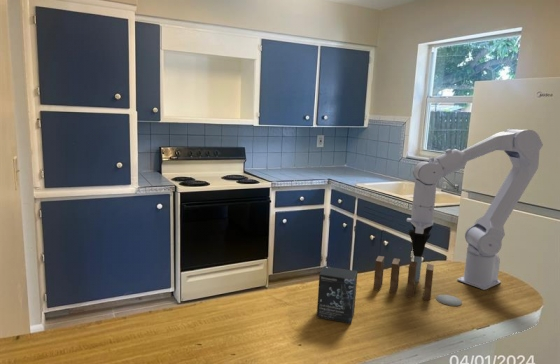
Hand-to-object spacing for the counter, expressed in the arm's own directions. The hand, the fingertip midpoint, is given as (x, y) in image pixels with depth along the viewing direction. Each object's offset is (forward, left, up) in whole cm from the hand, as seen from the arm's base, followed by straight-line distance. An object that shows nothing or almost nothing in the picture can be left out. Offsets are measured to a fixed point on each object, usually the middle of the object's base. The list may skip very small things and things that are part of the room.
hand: (418, 252), depth 114 cm
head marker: (+5, +13, -8) cm, 16 cm away
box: (+35, +3, -8) cm, 36 cm away
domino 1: (+14, -2, -8) cm, 16 cm away
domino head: (0, 0, -8) cm, 8 cm away
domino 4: (+8, +9, -8) cm, 14 cm away
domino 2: (+12, +1, -8) cm, 14 cm away
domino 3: (+10, +5, -8) cm, 14 cm away
